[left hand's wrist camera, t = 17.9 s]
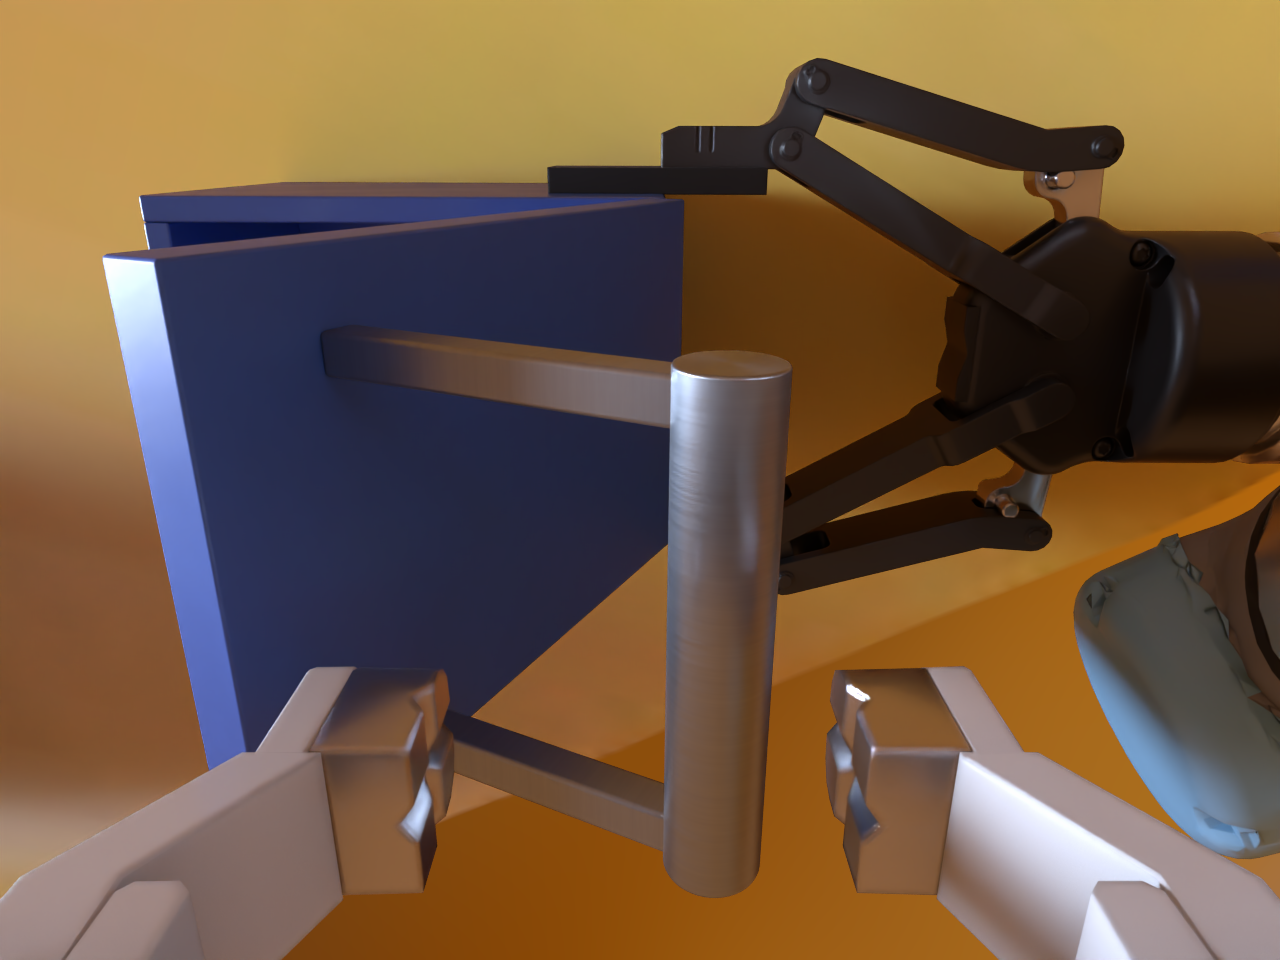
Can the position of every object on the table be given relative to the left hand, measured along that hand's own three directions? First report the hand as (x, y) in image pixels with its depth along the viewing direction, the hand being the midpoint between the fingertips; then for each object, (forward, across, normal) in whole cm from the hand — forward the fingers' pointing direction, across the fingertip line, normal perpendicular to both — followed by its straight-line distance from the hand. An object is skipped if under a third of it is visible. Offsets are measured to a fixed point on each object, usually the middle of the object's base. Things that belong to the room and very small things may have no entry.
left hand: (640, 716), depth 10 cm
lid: (+9, +3, 0) cm, 10 cm away
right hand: (+20, +3, 0) cm, 20 cm away
